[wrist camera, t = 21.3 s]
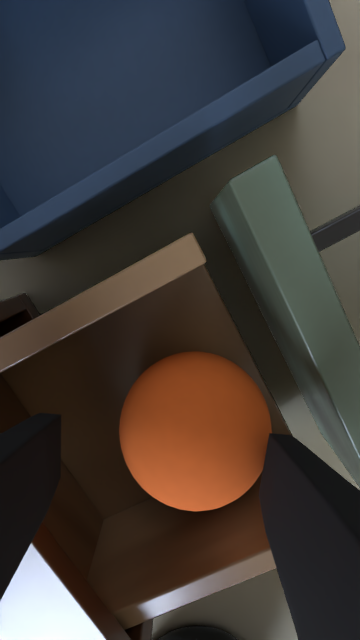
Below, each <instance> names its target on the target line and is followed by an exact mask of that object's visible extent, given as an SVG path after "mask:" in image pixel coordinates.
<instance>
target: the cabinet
mask: <svg viewBox="0 0 360 640" xmlns="http://www.w3.org/2000/svg"><path fill="white" fill-rule="evenodd" d="M38 316H40V314H39V313H38V311H37V310H36V308H35V307H34V305H33V304H32V302H31V300H30V299H29V297H28V296H27V294H26V293H23V294H20V295H17V296H14V297H11V298H8V299H6V300H3V301H0V337H2V336H4V335H6V334H7V333H9V332H11V331H13V330H15V329H17V328H18V327H20V326H22V325H24V324H26V323H27V322H29V321H31V320H33V319H35V318H36V317H38ZM152 625H153V619H150V620H148V621H145V622H143V623H140V624H138V625H135V626H133V627H130V628H128V629H126V630H124V629H123V628H122V627H121V625H120V624H119V623H118V621H117V620H116V619H115V617H114V616H113V615H112V613H111V612H110V611H109V609H108V608H107V607H106V605H105V604H104V603H103V601H102V600H101V599H100V597H99V596H98V595H97V593H96V592H95V591H94V589H93V588H92V587H91V585H90V584H89V583H88V581H87V580H86V579H85V577H84V576H83V575H82V573H81V572H80V571H79V569H78V568H77V567H76V565H75V564H74V563H73V561H72V560H71V559H70V557H69V556H68V555H67V554H66V552H65V551H64V550H63V548H62V547H61V546H60V544H59V543H58V542H57V540H56V539H55V538H54V536H53V535H52V534H51V532H50V531H49V530H48V528H47V527H46V526H45V524H44V523H43V522H42V523H41V525H40V527H39V529H38V531H37V533H36V535H35V537H34V539H33V541H32V542H31V544H30V546H29V548H28V550H27V552H26V554H25V556H24V557H23V559H22V561H21V563H20V565H19V567H18V569H17V571H16V572H15V574H14V576H13V578H12V580H11V582H10V584H9V586H8V587H7V589H6V591H5V593H4V595H3V597H2V599H1V601H0V640H151V638H152Z"/></svg>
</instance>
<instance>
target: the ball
mask: <svg viewBox="0 0 360 640" xmlns="http://www.w3.org/2000/svg"><path fill="white" fill-rule="evenodd" d="M269 433H272V428H271V419H270V414H269V410H268V407H267V404H266V401H265V399H264V396H263V394H262V392H261V391H260V389H259V387H258V386H257V384H256V383H255V382H254V380H253V379H252V378H251V377H250V376H249V375H248V374H247V373H246V372H245V371H244V370H243V369H242V368H240V367H239V366H238V365H236V364H235V363H233V362H232V361H230V360H228V359H226V358H224V357H221V356H218V355H215V354H212V353H206V352H199V351H192V352H182V353H177V354H173V355H171V356H168V357H165V358H163V359H161V360H160V361H158V362H156V363H155V364H153V365H152V366H150V367H149V368H148V369H147V370H145V371H144V372H143V373H142V374H141V375H140V376H139V378H138V379H137V380H136V381H135V383H134V384H133V385H132V387H131V389H130V390H129V392H128V394H127V397H126V399H125V402H124V405H123V408H122V411H121V417H120V425H119V435H120V444H121V449H122V453H123V456H124V459H125V462H126V464H127V466H128V468H129V470H130V472H131V474H132V475H133V477H134V478H135V480H136V481H137V482H138V483H139V485H140V486H141V487H142V488H143V489H144V490H145V491H146V492H147V493H149V494H150V495H151V496H152V497H154V498H155V499H157V500H158V501H160V502H162V503H164V504H166V505H168V506H171V507H174V508H177V509H180V510H187V511H206V510H213V509H217V508H220V507H222V506H225V505H227V504H229V503H231V502H233V501H234V500H236V499H238V498H239V497H241V496H242V495H243V494H244V493H245V492H246V491H247V490H249V488H250V487H251V486H252V485H253V484H254V483H255V481H256V480H257V478H258V477H259V475H260V474H261V472H262V470H263V466H264V461H265V455H266V449H267V444H268V438H269Z"/></svg>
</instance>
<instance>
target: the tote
mask: <svg viewBox="0 0 360 640" xmlns="http://www.w3.org/2000/svg"><path fill="white" fill-rule="evenodd" d="M344 50H345V44H344V41H343V38H342V35H341V33H340V30H339V27H338V25H337V22H336V19H335V16H334V14H333V11H332V8H331V5H330V3H329V0H0V260H9V259H17V258H26V257H35V256H37V255H39V254H41V253H42V252H44V251H46V250H48V249H49V248H51V247H53V246H54V245H56V244H58V243H60V242H61V241H63V240H65V239H67V238H68V237H70V236H72V235H74V234H75V233H77V232H79V231H80V230H82V229H84V228H86V227H87V226H89V225H91V224H93V223H94V222H96V221H98V220H99V219H101V218H103V217H105V216H106V215H108V214H110V213H112V212H113V211H115V210H117V209H119V208H120V207H122V206H124V205H125V204H127V203H129V202H131V201H132V200H134V199H136V198H138V197H139V196H141V195H143V194H145V193H146V192H148V191H150V190H151V189H153V188H155V187H157V186H158V185H160V184H162V183H164V182H165V181H167V180H169V179H170V178H172V177H174V176H176V175H177V174H179V173H181V172H183V171H184V170H186V169H188V168H190V167H191V166H193V165H195V164H196V163H198V162H200V161H202V160H203V159H205V158H207V157H209V156H210V155H212V154H214V153H215V152H217V151H219V150H221V149H222V148H224V147H226V146H228V145H229V144H231V143H233V142H235V141H236V140H238V139H240V138H241V137H243V136H245V135H247V134H248V133H250V132H252V131H254V130H255V129H257V128H259V127H261V126H262V125H264V124H266V123H267V122H269V121H271V120H273V119H274V118H276V117H278V116H280V115H281V114H283V113H285V112H286V111H288V110H290V109H292V108H293V107H295V106H297V105H298V104H299V103H300V102H301V100H302V99H303V98H304V97H305V96H306V94H307V93H308V92H309V91H310V90H311V89H312V87H313V86H314V85H315V84H316V83H317V82H318V80H319V79H320V78H321V77H322V76H323V75H324V73H325V72H326V71H327V70H328V69H329V68H330V66H331V65H332V64H333V63H334V62H335V61H336V59H337V58H338V57H339V56H340V55H341V54H342V52H343V51H344Z"/></svg>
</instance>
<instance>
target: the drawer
mask: <svg viewBox="0 0 360 640" xmlns="http://www.w3.org/2000/svg"><path fill="white" fill-rule="evenodd" d="M210 209H211V211H212V213H213V215H214V217H215V219H216V221H217V223H218V225H219V227H220V229H221V231H222V233H223V235H224V237H225V239H226V241H227V243H228V245H229V247H230V249H231V251H232V253H233V255H234V257H235V259H236V261H237V263H238V266H239V268H240V270H241V272H242V274H243V276H244V278H245V280H246V282H247V284H248V286H249V288H250V290H251V292H252V294H253V296H254V298H255V300H256V302H257V304H258V306H259V308H260V310H261V312H262V314H263V316H264V318H265V320H266V322H267V325H268V327H269V329H270V331H271V333H272V335H273V337H274V339H275V341H276V343H277V345H278V347H279V349H280V351H281V353H282V355H283V357H284V359H285V361H286V363H287V365H288V367H289V369H290V371H291V373H292V375H293V377H294V379H295V381H296V383H297V386H298V388H299V390H300V392H301V394H302V396H303V398H304V400H305V402H306V404H307V406H308V408H309V410H310V412H311V414H312V416H313V418H314V420H315V422H316V424H317V426H318V428H319V430H320V432H321V434H322V435H323V437H324V438H325V440H326V441H327V442H328V444H329V445H330V447H331V448H332V449H333V451H334V452H335V454H336V455H337V456H338V458H339V459H340V461H341V462H342V463H343V465H344V466H345V468H346V469H347V471H348V472H349V473H350V475H351V476H352V478H353V479H354V480H355V482H356V483H357V485H358V486H359V487H360V346H359V344H358V342H357V339H356V337H355V335H354V332H353V330H352V328H351V326H350V323H349V321H348V319H347V316H346V314H345V312H344V309H343V307H342V305H341V302H340V300H339V298H338V296H337V293H336V291H335V289H334V286H333V284H332V282H331V279H330V277H329V275H328V272H327V270H326V268H325V266H324V263H323V261H322V259H321V256H320V254H319V252H320V251H321V250H323V249H325V248H327V247H329V246H331V245H333V244H335V243H337V242H339V241H341V240H343V239H345V238H347V237H348V236H350V235H352V234H354V233H356V232H358V231H360V205H359V206H357V207H355V208H353V209H352V210H350V211H348V212H346V213H344V214H342V215H340V216H338V217H336V218H335V219H333V220H331V221H329V222H327V223H325V224H323V225H321V226H319V227H317V228H316V229H314V230H312V231H309V229H308V226H307V224H306V222H305V219H304V217H303V215H302V213H301V210H300V208H299V206H298V203H297V201H296V199H295V196H294V194H293V192H292V190H291V187H290V185H289V183H288V180H287V178H286V176H285V173H284V171H283V169H282V166H281V164H280V162H279V160H278V157H277V156H276V155H273V156H271V157H269V158H267V159H266V160H264V161H262V162H260V163H258V164H257V165H255V166H253V167H251V168H250V169H248V170H246V171H244V172H242V173H241V174H239V175H237V176H235V177H234V178H232V179H230V180H229V182H228V183H227V184H226V185H225V187H224V188H223V189H222V190H221V192H220V193H219V194H218V195H217V196H216V198H215V199H214V200H213V201H212V203H211V204H210ZM206 261H207V260H206V257H205V255H204V253H203V251H202V249H201V247H200V245H199V244H198V242H197V240H196V238H195V236H194V234H193V233H189V234H187V235H185V236H183V237H181V238H180V239H178V240H176V241H174V242H172V243H171V244H169V245H167V246H165V247H163V248H161V249H160V250H158V251H156V252H154V253H152V254H151V255H149V256H147V257H145V258H143V259H142V260H140V261H138V262H136V263H134V264H132V265H131V266H129V267H127V268H125V269H123V270H122V271H120V272H118V273H116V274H114V275H113V276H111V277H109V278H107V279H105V280H104V281H102V282H100V283H98V284H96V285H94V286H93V287H91V288H89V289H87V290H85V291H84V292H82V293H80V294H78V295H76V296H75V297H73V298H71V299H69V300H67V301H65V302H64V303H62V304H60V305H58V306H56V307H55V308H53V309H51V310H49V311H47V312H46V313H44V314H42V315H40V316H38V317H36V318H35V319H33V320H31V321H29V322H27V323H26V324H24V325H22V326H20V327H18V328H17V329H15V330H13V331H11V332H9V333H7V334H6V335H4V336H2V337H0V434H1V433H3V432H5V431H6V430H8V429H10V428H12V427H13V426H15V425H17V424H19V423H21V422H22V421H24V420H26V419H28V418H30V417H32V416H34V415H36V414H38V413H49V414H60V415H61V478H60V480H59V483H58V486H57V488H56V491H55V494H54V496H53V499H52V501H51V504H50V506H49V509H48V511H47V514H46V516H45V518H44V520H43V521H42V522H43V523H44V524H45V526H46V527H47V528H48V530H49V531H50V532H51V534H52V535H53V536H54V538H55V539H56V540H57V542H58V543H59V544H60V546H61V547H62V548H63V550H64V551H65V552H66V554H67V555H68V556H69V557H70V559H71V560H72V561H73V563H74V564H75V565H76V567H77V568H78V569H79V571H80V572H81V573H82V575H83V576H84V577H85V579H86V580H87V581H88V583H89V584H90V585H91V587H92V588H93V589H94V591H95V592H96V593H97V595H98V596H99V597H100V599H101V600H102V601H103V603H104V604H105V605H106V607H107V608H108V609H109V611H110V612H111V613H112V615H113V616H114V617H115V619H116V620H117V621H118V623H119V624H120V625H121V627H122V628H123V629H124V630H126V629H128V628H130V627H133V626H135V625H138V624H140V623H143V622H145V621H148V620H150V619H153V618H155V617H157V616H160V615H162V614H165V613H167V612H170V611H172V610H175V609H177V608H180V607H182V606H184V605H187V604H189V603H192V602H194V601H197V600H199V599H202V598H204V597H207V596H209V595H211V594H214V593H216V592H219V591H221V590H224V589H226V588H229V587H231V586H234V585H236V584H238V583H241V582H243V581H246V580H248V579H251V578H253V577H256V576H258V575H261V574H263V573H266V572H268V571H270V570H273V569H275V568H276V565H275V562H274V558H273V555H272V552H271V548H270V545H269V542H268V539H267V535H266V532H265V527H264V522H263V517H262V511H261V505H260V500H259V489H260V484H261V478H262V472H263V470H262V472H261V474H260V475H259V477H258V478H257V480H256V481H255V483H254V484H253V485H252V486H251V487H250V488H249V490H247V491H246V492H245V493H244V494H243V495H242V496H241V497H239V498H238V499H236V500H234V501H233V502H231V503H229V504H227V505H225V506H222V507H220V508H217V509H213V510H206V511H187V510H180V509H177V508H174V507H171V506H168V505H166V504H164V503H162V502H160V501H158V500H157V499H155V498H154V497H152V496H151V495H150V494H149V493H147V492H146V491H145V490H144V489H143V488H142V487H141V486H140V485H139V483H138V482H137V481H136V480H135V478H134V477H133V475H132V474H131V472H130V470H129V468H128V466H127V464H126V462H125V459H124V456H123V453H122V449H121V444H120V435H119V425H120V417H121V411H122V408H123V405H124V402H125V399H126V397H127V394H128V392H129V390H130V389H131V387H132V385H133V384H134V383H135V381H136V380H137V379H138V378H139V376H140V375H141V374H142V373H143V372H144V371H145V370H147V369H148V368H149V367H150V366H152V365H153V364H155V363H156V362H158V361H160V360H161V359H163V358H165V357H168V356H171V355H173V354H177V353H182V352H192V351H199V352H206V353H212V354H215V355H218V356H221V357H224V358H226V359H228V360H230V361H232V362H233V363H235V364H236V365H238V366H239V367H240V368H242V369H243V370H244V371H245V372H246V373H247V374H248V375H249V376H250V377H251V378H252V379H253V380H254V382H255V383H256V384H257V386H258V387H259V389H260V391H261V392H262V394H263V396H264V399H265V401H266V404H267V407H268V410H269V414H270V419H271V428H272V433H273V434H285V435H291V436H292V434H291V432H290V430H289V428H288V426H287V424H286V422H285V420H284V418H283V416H282V414H281V412H280V410H279V408H278V406H277V404H276V403H275V401H274V399H273V397H272V395H271V393H270V391H269V389H268V387H267V385H266V383H265V381H264V379H263V377H262V375H261V373H260V371H259V369H258V367H257V366H256V364H255V362H254V360H253V358H252V356H251V354H250V352H249V350H248V348H247V346H246V344H245V342H244V340H243V338H242V336H241V334H240V332H239V331H238V329H237V327H236V325H235V323H234V321H233V319H232V317H231V315H230V313H229V311H228V309H227V307H226V305H225V303H224V301H223V299H222V297H221V296H220V294H219V292H218V290H217V288H216V286H215V284H214V282H213V280H212V278H211V276H210V274H209V272H208V270H207V268H206V266H205V264H204V263H206Z"/></svg>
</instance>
